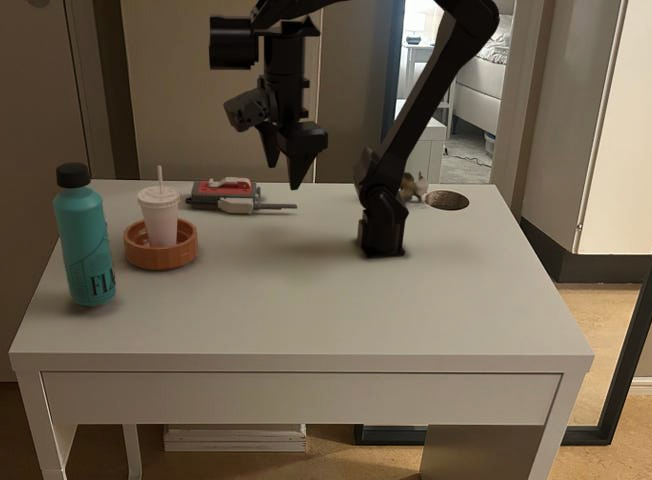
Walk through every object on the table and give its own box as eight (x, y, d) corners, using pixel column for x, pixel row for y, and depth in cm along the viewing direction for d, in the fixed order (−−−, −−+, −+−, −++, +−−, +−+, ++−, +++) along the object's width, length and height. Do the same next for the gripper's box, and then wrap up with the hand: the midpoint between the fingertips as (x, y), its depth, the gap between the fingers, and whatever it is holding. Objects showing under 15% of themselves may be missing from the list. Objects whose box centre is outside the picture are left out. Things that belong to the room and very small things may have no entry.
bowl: (195, 237, 116) (193, 214, 113) (201, 269, 107) (199, 246, 104) (126, 241, 114) (123, 219, 111) (126, 275, 105) (123, 251, 103)
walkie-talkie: (183, 214, 123) (297, 216, 123) (181, 190, 120) (297, 193, 120) (190, 194, 130) (297, 196, 130) (188, 171, 127) (298, 173, 127)
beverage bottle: (95, 321, 95) (71, 180, 83) (61, 306, 98) (32, 168, 86) (128, 300, 99) (110, 163, 87) (94, 287, 102) (72, 153, 90)
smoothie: (176, 263, 107) (169, 176, 99) (137, 258, 108) (126, 171, 100) (189, 244, 112) (183, 160, 104) (152, 240, 113) (142, 156, 105)
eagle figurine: (411, 184, 132) (368, 179, 130) (429, 160, 126) (384, 155, 123) (418, 218, 130) (374, 214, 127) (436, 196, 123) (391, 191, 121)
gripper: (208, 58, 101) (213, 163, 110) (251, 93, 87) (252, 210, 96) (280, 52, 104) (279, 155, 113) (332, 86, 90) (326, 199, 99)
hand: (282, 178), depth 105 cm, fingers open, 9 cm apart
